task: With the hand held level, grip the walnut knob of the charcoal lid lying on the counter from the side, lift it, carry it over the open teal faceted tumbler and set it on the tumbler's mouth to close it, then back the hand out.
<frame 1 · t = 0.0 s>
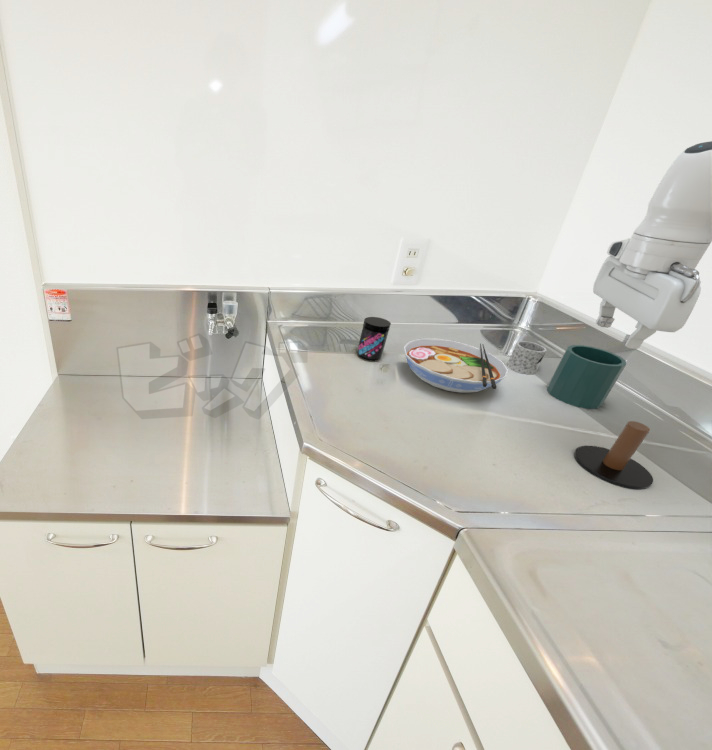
hand: (615, 335, 74), 24 cm above the counter, tool pointing down, fingers open, 8 cm apart
lid: (611, 467, 79), point 1 cm above the counter
supplement container: (368, 357, 117), on the counter
mug: (519, 366, 116), on the counter
teal faceted tumbler: (570, 401, 100), on the counter
ramen bowl: (444, 384, 105), on the counter
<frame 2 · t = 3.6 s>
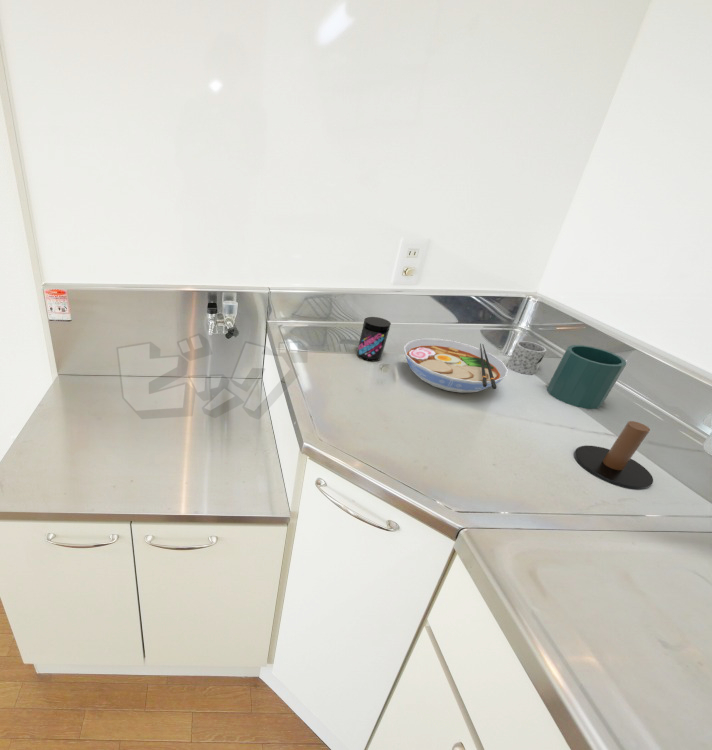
nothing on the counter moved.
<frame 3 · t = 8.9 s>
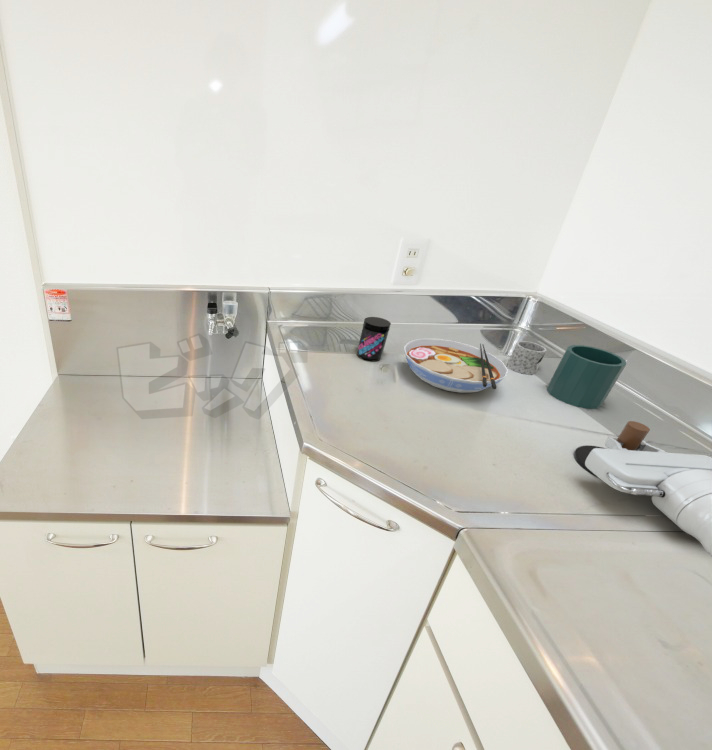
hand: (622, 441, 77), 6 cm above the counter, tool horizontal, fingers closed on lid, 3 cm apart
lid: (611, 467, 79), point 1 cm above the counter, touching gripper
everything else where it was.
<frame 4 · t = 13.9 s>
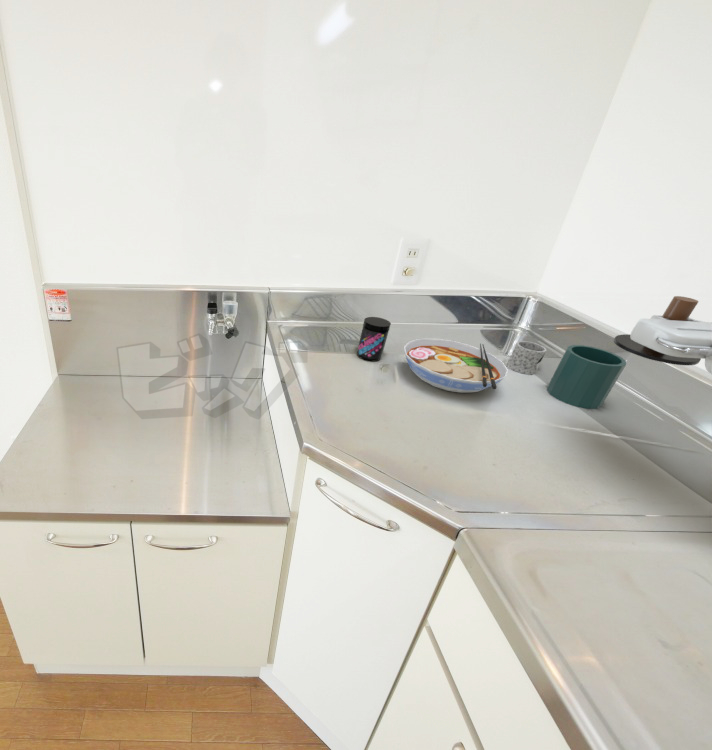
hand: (667, 320, 74), 27 cm above the counter, tool horizontal, fingers closed on lid, 3 cm apart
lid: (654, 350, 75), point 21 cm above the counter, touching gripper
everything else where it was.
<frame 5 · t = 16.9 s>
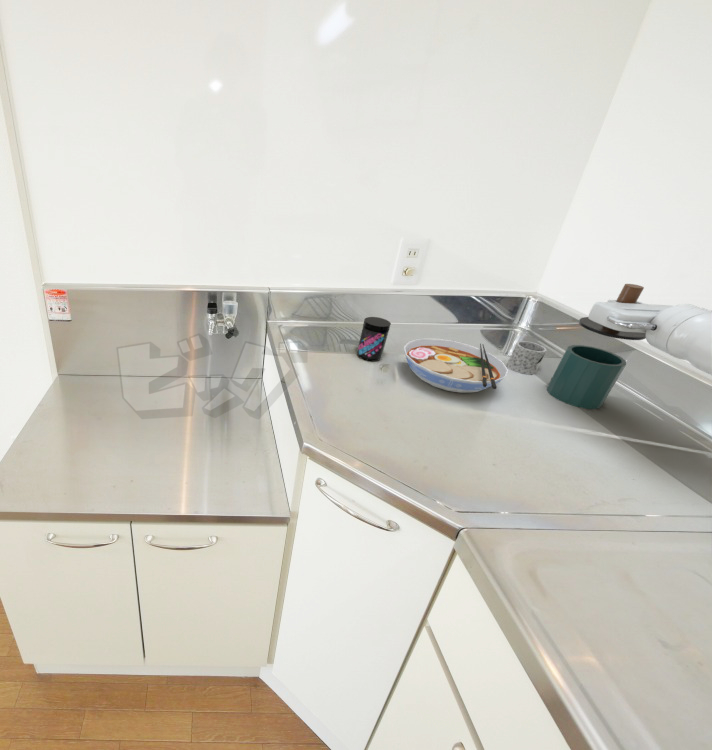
hand: (620, 303, 89), 24 cm above the counter, tool horizontal, fingers closed on lid, 3 cm apart
lid: (611, 329, 91), point 19 cm above the counter, touching gripper
everything else where it was.
when the fingers open (18 cm above the counter, at t = 19.0 s): lid stays where it is, resting on teal faceted tumbler.
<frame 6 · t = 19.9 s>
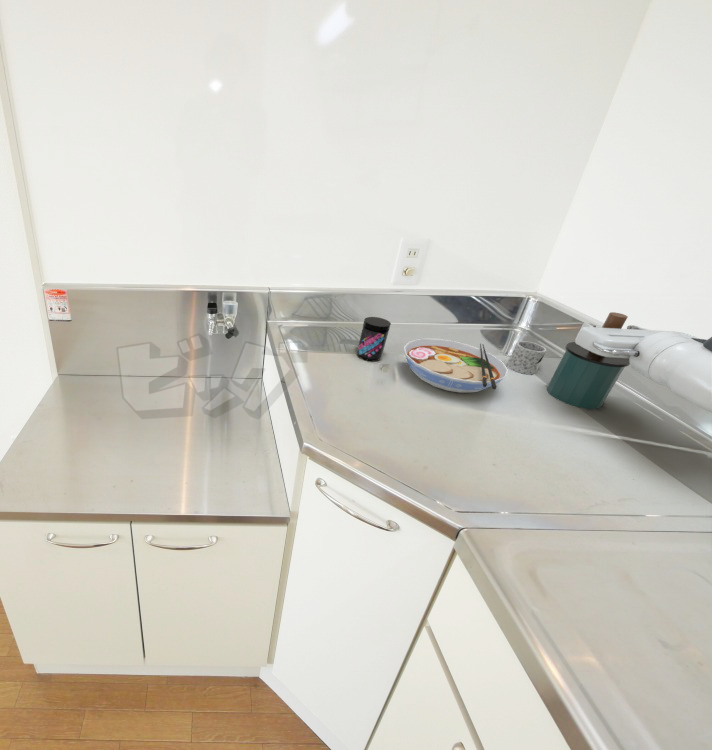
hand: (607, 327, 92), 19 cm above the counter, tool horizontal, fingers open, 8 cm apart
lid: (596, 355, 94), point 12 cm above the counter, touching teal faceted tumbler
everything else where it was.
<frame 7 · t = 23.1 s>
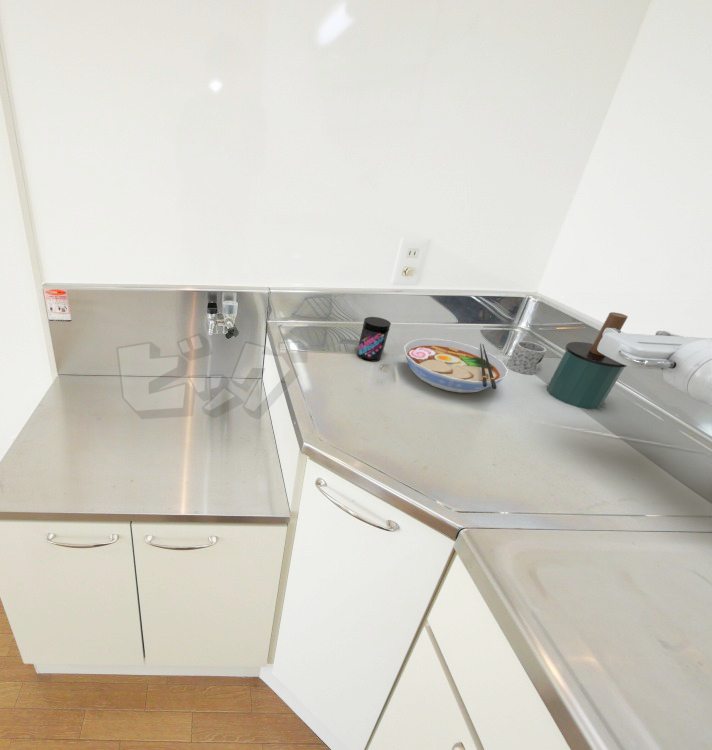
hand: (633, 333, 80), 22 cm above the counter, tool horizontal, fingers open, 8 cm apart
nothing on the counter moved.
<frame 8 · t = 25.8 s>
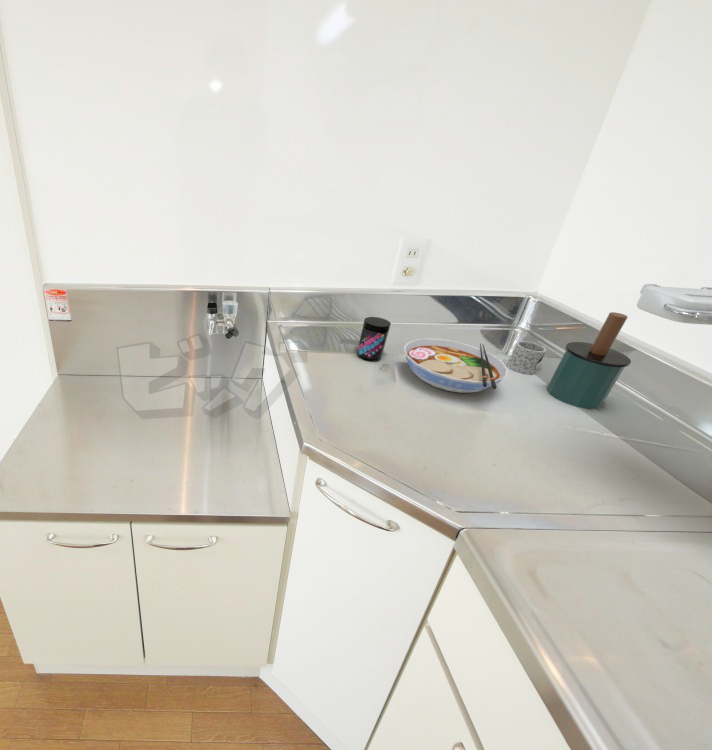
hand: (674, 290, 72), 32 cm above the counter, tool horizontal, fingers open, 8 cm apart
nothing on the counter moved.
at the end: lid 0.1 cm off-centre on the teal faceted tumbler, point 12.5 cm above the teal faceted tumbler's base; lid tilted 0°; the gripper is holding nothing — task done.
